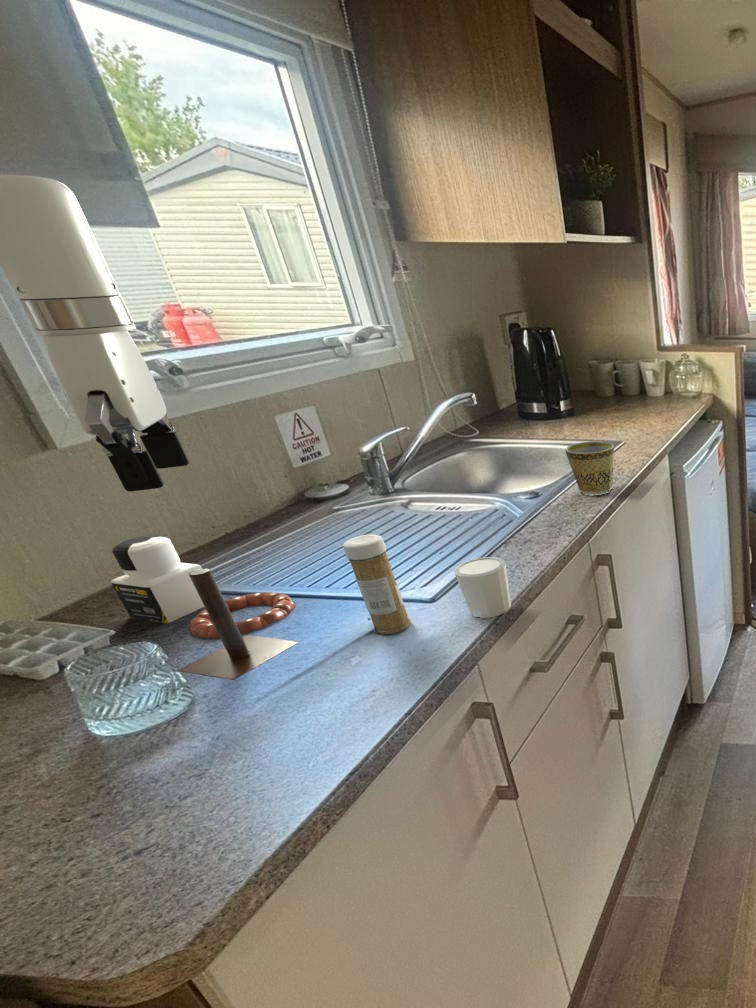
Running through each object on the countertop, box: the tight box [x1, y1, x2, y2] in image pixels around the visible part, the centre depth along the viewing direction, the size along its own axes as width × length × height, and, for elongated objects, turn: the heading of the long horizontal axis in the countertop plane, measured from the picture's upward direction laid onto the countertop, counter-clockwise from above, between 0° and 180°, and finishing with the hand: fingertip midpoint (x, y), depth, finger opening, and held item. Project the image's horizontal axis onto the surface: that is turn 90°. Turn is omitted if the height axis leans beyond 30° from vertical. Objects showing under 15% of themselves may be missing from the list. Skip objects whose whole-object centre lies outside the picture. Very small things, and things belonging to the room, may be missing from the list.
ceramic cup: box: [564, 440, 615, 495], centre depth 144 cm, size 13×10×10 cm
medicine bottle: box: [110, 534, 205, 624], centre depth 93 cm, size 7×7×12 cm
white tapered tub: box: [453, 556, 512, 619], centre depth 96 cm, size 7×7×7 cm
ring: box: [188, 591, 296, 639], centre depth 94 cm, size 12×12×2 cm
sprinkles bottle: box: [342, 534, 411, 636], centre depth 89 cm, size 5×5×14 cm
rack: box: [176, 567, 300, 681], centre depth 82 cm, size 9×9×13 cm
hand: (160, 477), depth 76 cm, fingers open, 9 cm apart
